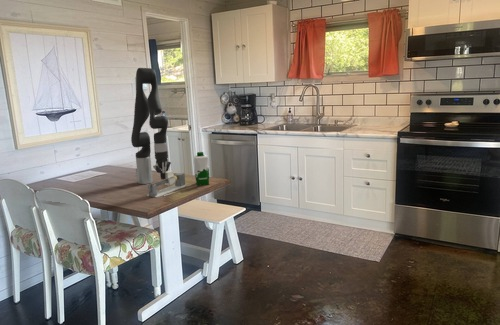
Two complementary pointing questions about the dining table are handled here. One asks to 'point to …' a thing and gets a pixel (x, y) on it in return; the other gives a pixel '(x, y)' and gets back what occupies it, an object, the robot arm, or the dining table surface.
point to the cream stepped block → (170, 178)
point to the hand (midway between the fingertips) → (163, 179)
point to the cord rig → (179, 184)
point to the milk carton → (201, 169)
